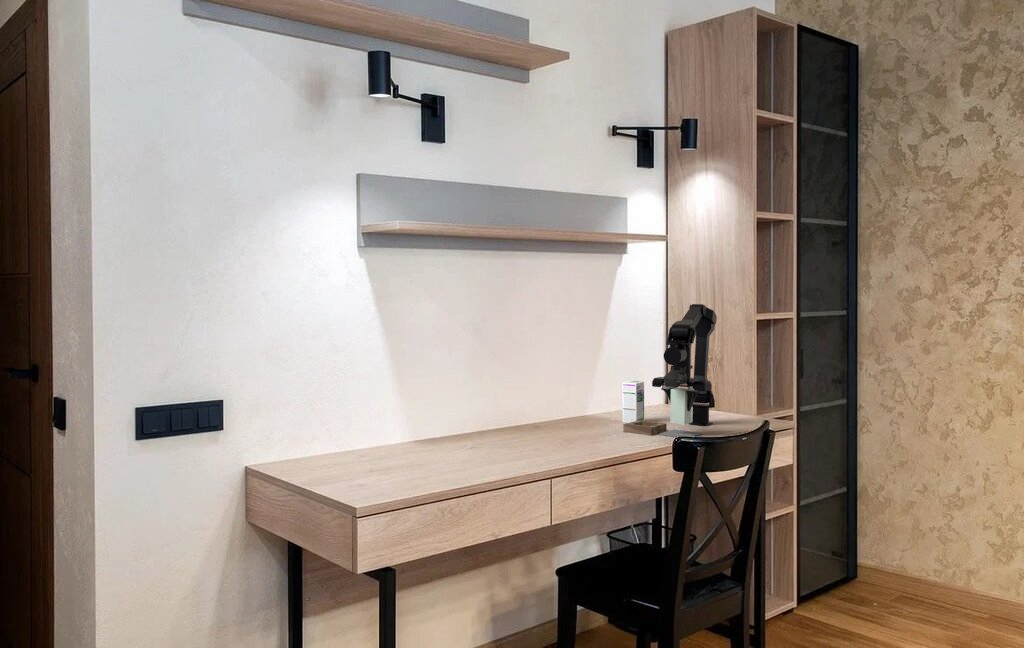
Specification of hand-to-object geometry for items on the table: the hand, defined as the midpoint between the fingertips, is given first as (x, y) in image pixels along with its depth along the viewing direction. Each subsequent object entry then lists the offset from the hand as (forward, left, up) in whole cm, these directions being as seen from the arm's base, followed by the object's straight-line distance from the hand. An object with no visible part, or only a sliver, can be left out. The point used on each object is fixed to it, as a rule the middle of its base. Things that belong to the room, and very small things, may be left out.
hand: (681, 410), depth 276 cm
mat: (0, 0, -8) cm, 8 cm away
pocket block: (+2, -12, -8) cm, 15 cm away
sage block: (0, 0, -4) cm, 4 cm away
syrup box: (-11, -24, -8) cm, 28 cm away
